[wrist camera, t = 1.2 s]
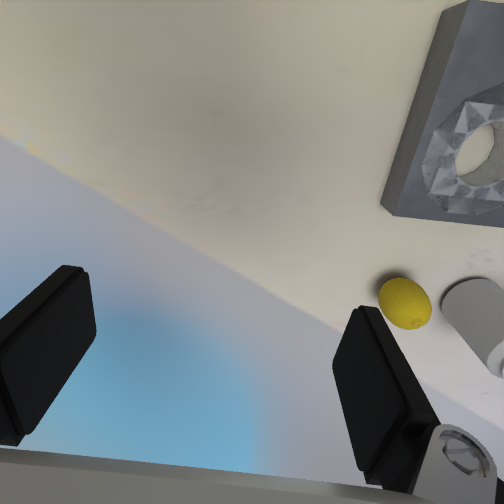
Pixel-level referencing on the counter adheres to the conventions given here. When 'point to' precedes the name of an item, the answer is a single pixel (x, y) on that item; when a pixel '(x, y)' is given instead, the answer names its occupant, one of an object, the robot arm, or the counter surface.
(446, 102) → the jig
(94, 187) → the counter surface
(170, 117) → the counter surface
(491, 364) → the can
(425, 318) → the lemon
